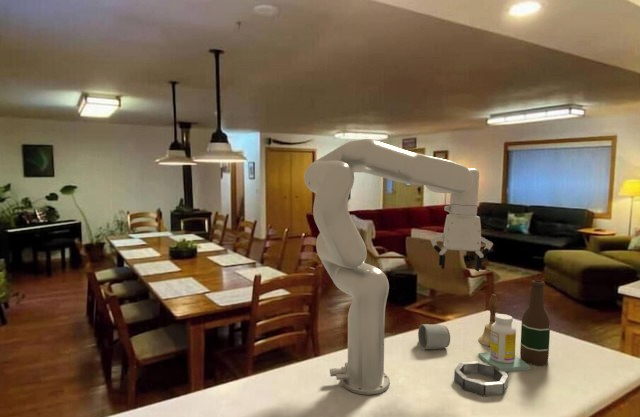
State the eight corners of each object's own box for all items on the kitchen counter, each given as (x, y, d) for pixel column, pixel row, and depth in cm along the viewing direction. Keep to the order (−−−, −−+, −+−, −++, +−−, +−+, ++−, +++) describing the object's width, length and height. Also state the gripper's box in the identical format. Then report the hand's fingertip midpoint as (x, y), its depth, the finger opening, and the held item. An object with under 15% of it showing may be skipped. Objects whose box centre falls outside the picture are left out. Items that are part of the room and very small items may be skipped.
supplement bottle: (516, 357, 122) (518, 315, 120) (512, 366, 116) (514, 322, 115) (492, 352, 125) (493, 311, 124) (487, 360, 120) (489, 317, 118)
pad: (497, 372, 115) (497, 368, 115) (478, 356, 125) (478, 353, 125) (529, 369, 116) (530, 366, 116) (508, 354, 126) (508, 350, 126)
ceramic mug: (451, 351, 128) (452, 327, 127) (426, 353, 126) (427, 329, 126) (436, 338, 138) (436, 316, 138) (413, 340, 137) (413, 317, 136)
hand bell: (475, 336, 140) (477, 290, 138) (501, 337, 139) (503, 291, 137) (481, 346, 132) (483, 298, 130) (509, 348, 130) (511, 299, 129)
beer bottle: (552, 367, 118) (557, 285, 115) (523, 365, 119) (527, 283, 117) (543, 355, 125) (547, 278, 123) (516, 353, 127) (519, 277, 125)
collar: (470, 398, 102) (471, 386, 101) (447, 373, 114) (448, 363, 114) (516, 393, 104) (517, 382, 103) (489, 370, 116) (489, 360, 115)
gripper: (433, 210, 117) (430, 269, 118) (497, 213, 114) (493, 274, 115) (431, 208, 124) (428, 264, 125) (491, 211, 121) (487, 268, 123)
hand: (459, 269), depth 120 cm, fingers open, 9 cm apart
